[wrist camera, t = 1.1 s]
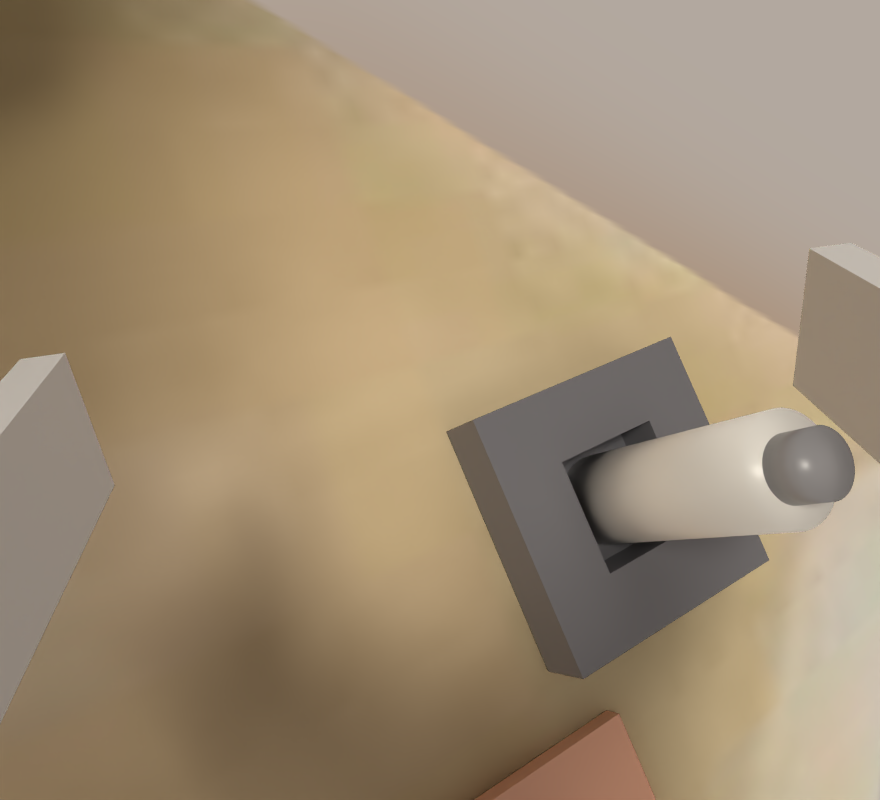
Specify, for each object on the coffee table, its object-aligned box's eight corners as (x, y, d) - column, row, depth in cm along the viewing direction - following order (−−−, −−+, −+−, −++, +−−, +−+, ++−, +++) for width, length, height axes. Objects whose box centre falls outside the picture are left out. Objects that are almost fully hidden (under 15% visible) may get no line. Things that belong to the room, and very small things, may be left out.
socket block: (446, 431, 36) (472, 420, 34) (634, 352, 41) (670, 336, 39) (548, 671, 36) (583, 679, 33) (726, 561, 41) (769, 560, 38)
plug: (547, 474, 37) (755, 425, 25) (615, 441, 39) (839, 381, 27) (583, 559, 37) (811, 551, 25) (650, 522, 39) (892, 498, 27)
